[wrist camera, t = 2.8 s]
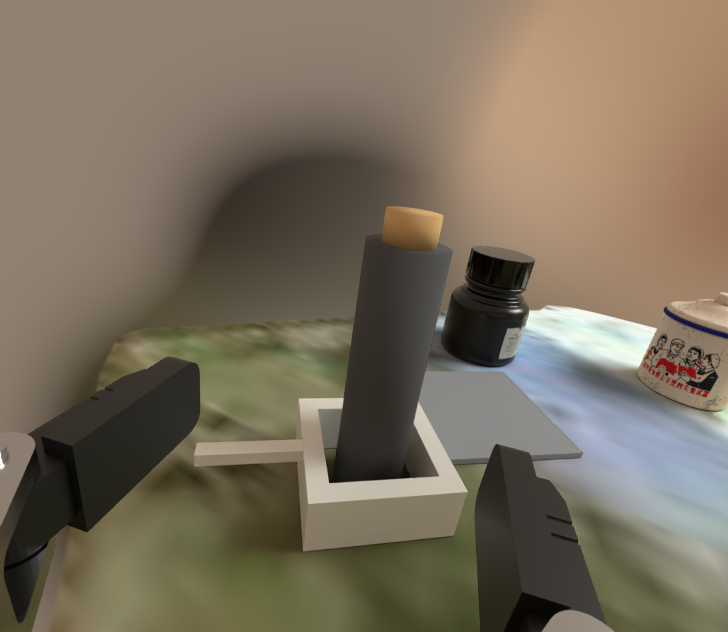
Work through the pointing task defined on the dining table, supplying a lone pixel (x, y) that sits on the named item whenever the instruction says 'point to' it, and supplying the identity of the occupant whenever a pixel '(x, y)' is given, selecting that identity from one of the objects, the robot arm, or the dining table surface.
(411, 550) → the dining table surface
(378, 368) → the black cable stub
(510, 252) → the ink bottle
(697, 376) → the teacup with lid
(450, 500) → the square ring with handle
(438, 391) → the grey felt mat
